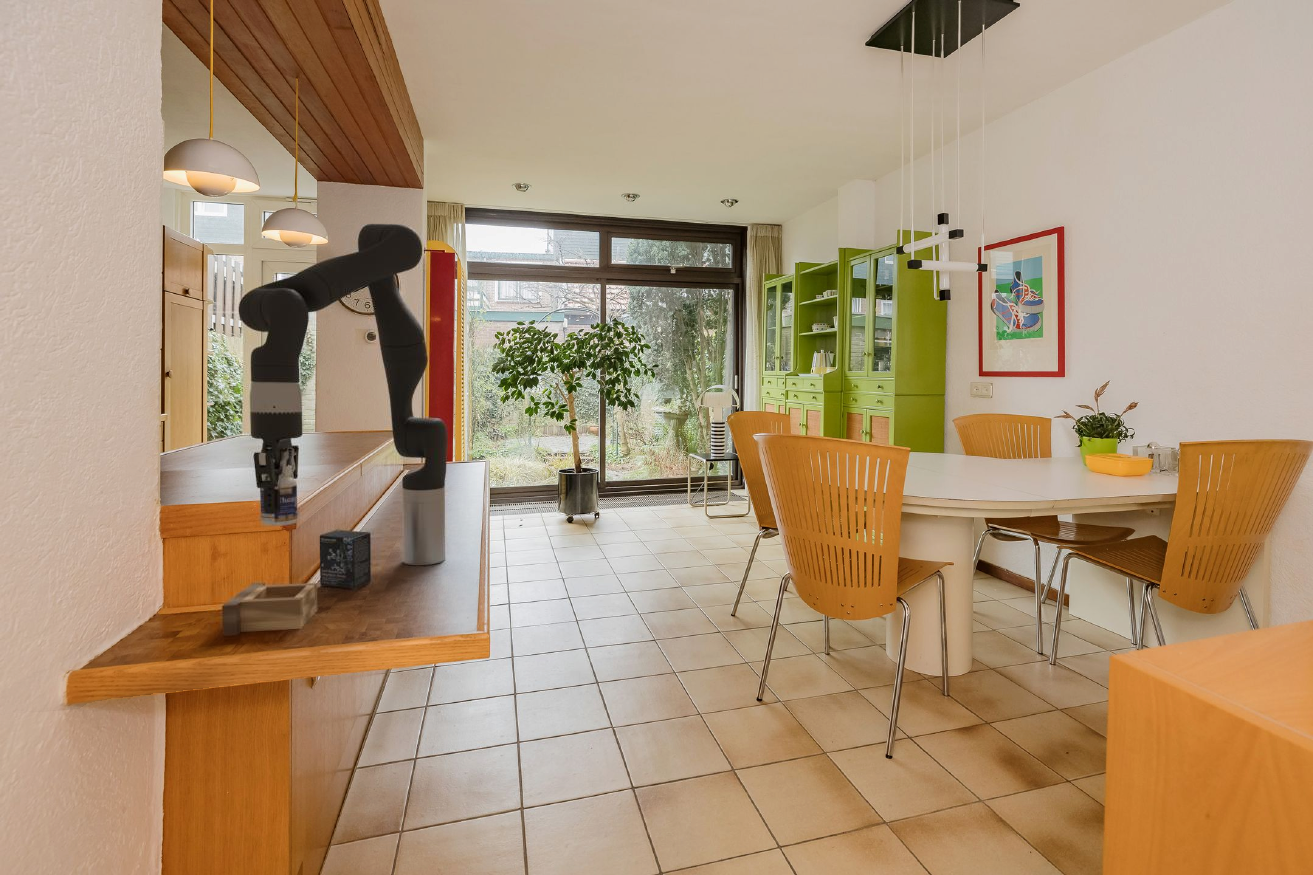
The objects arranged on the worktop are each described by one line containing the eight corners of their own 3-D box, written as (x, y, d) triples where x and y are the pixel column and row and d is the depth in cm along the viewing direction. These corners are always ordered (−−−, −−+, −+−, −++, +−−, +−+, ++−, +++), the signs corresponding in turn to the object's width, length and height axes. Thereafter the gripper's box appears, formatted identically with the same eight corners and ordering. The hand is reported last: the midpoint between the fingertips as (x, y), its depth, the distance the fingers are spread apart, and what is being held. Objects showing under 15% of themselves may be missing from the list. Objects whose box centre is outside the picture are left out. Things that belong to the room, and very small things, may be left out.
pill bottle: (281, 527, 106) (279, 469, 106) (253, 525, 108) (251, 467, 107) (305, 521, 112) (303, 465, 111) (278, 519, 113) (276, 464, 112)
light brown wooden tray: (262, 612, 114) (261, 585, 114) (317, 610, 116) (316, 583, 116) (240, 631, 106) (239, 602, 105) (300, 628, 108) (300, 599, 107)
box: (319, 586, 130) (318, 534, 129) (339, 578, 135) (338, 528, 134) (353, 590, 128) (352, 537, 127) (372, 581, 134) (371, 531, 133)
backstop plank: (253, 610, 116) (252, 583, 115) (265, 609, 116) (264, 582, 116) (223, 635, 104) (222, 605, 103) (236, 635, 104) (235, 605, 104)
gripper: (286, 411, 102) (288, 517, 103) (314, 408, 116) (315, 501, 117) (233, 411, 100) (236, 518, 102) (267, 407, 114) (270, 502, 116)
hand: (279, 508), depth 109 cm, fingers closed on pill bottle, 5 cm apart
